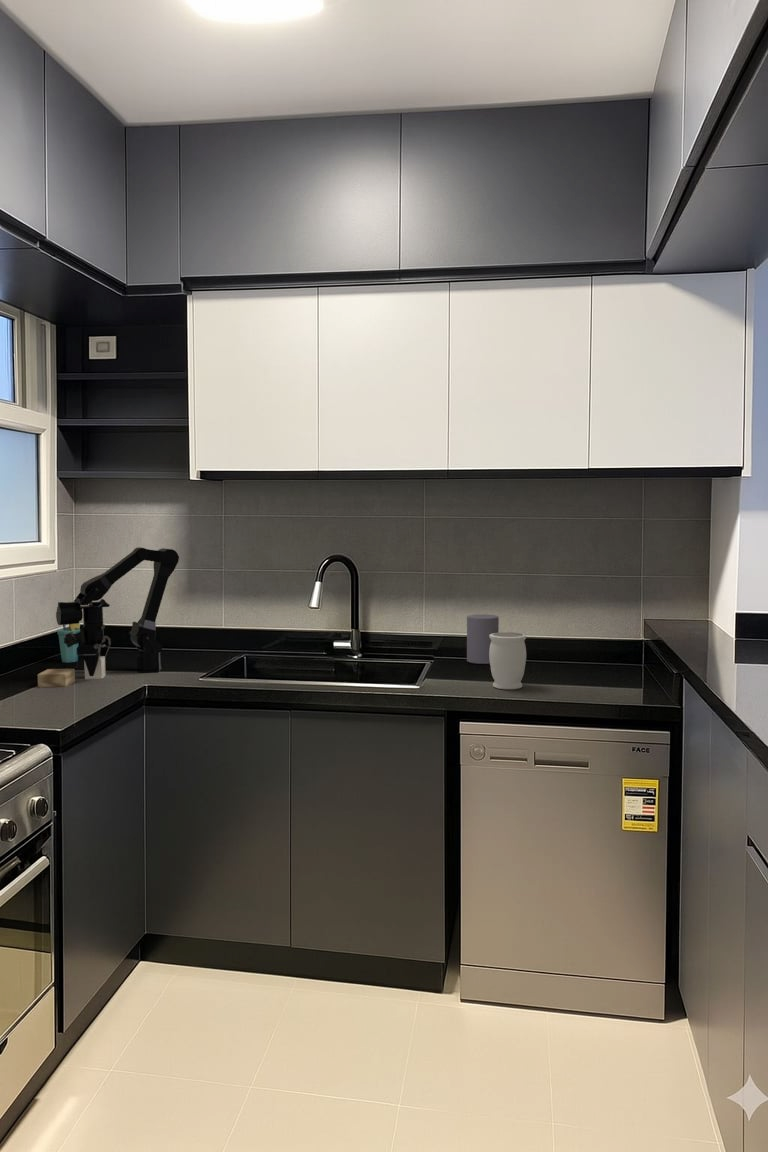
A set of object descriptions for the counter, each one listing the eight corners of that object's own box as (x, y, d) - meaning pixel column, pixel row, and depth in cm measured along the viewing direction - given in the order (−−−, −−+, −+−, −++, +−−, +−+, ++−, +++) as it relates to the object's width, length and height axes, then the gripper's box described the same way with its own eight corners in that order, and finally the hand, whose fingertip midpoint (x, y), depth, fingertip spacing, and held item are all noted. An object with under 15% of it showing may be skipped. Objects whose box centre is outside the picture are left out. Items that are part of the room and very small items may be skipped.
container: (485, 657, 295) (485, 613, 294) (504, 662, 286) (505, 617, 285) (460, 661, 290) (460, 615, 289) (479, 665, 281) (479, 619, 280)
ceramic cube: (105, 675, 270) (104, 656, 270) (101, 678, 266) (101, 659, 265) (88, 675, 270) (88, 656, 270) (84, 679, 265) (84, 659, 265)
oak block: (75, 681, 262) (74, 668, 262) (65, 687, 254) (65, 674, 254) (48, 682, 262) (47, 669, 262) (38, 688, 254) (37, 674, 254)
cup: (71, 665, 287) (70, 620, 286) (48, 665, 287) (46, 620, 286) (88, 657, 301) (86, 614, 300) (65, 657, 301) (64, 614, 300)
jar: (516, 692, 242) (517, 638, 241) (482, 688, 248) (483, 635, 246) (531, 685, 251) (532, 633, 250) (498, 681, 257) (498, 630, 255)
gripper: (73, 618, 275) (75, 668, 276) (57, 627, 256) (59, 680, 258) (110, 618, 276) (112, 667, 277) (96, 626, 257) (98, 679, 259)
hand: (95, 673), depth 268 cm, fingers open, 9 cm apart
